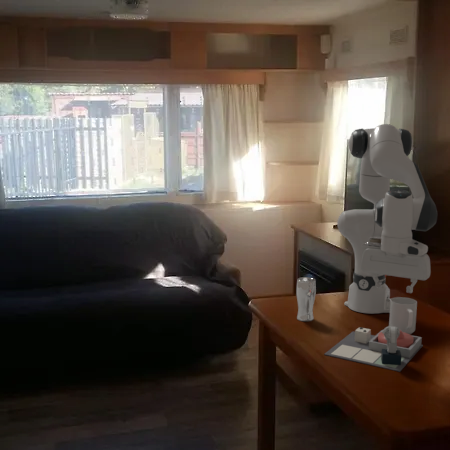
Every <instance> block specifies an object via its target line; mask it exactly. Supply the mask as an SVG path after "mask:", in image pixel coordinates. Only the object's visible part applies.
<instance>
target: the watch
mask: <svg viewBox="0 0 450 450" xmlns="http://www.w3.org/2000/svg"><path fill="white" fill-rule="evenodd" d="M382 330H383V331H382V334H384V336H385V339H386V340H387V349H382V350H381V361H382V364H391V365H401V352H400V350H397V338H398V337H399V335H400V330H399V329H398V327H395V326H389V325H388V326H386V327H384V329H382Z"/></svg>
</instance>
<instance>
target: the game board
mask: <svg viewBox="0 0 450 450" xmlns="http://www.w3.org/2000/svg"><path fill="white" fill-rule="evenodd" d="M371 330H372V329H370V328H365V327H362V326H361V327H360V326H359V327H358V328H356V329H355V330H354V331H353V330H352V331H351V332H350V333H349V334H347V335H346V336H345V337H344V338H342V339H341V340H340V341H338V342H337V343H336V344H335V345H334V346H332V347H331V348H330V349H329V350H328V351H326V352H325V353H324V356H327V357H332V358H337V359H341V360H345V361H349V362H354V363H355V362H356V363H359V364H364V365H367V366H373V367H375V368H376V367H377V368H381V369H385V370H391V371H394V372H395V371H396V372H399V373H400V372H401V371H402V370H403V369H404V368H405V367H406V366H407V365H408V363H409V362H410V361H411V360H412V359H414V357H415V355H416V354H417V353H418V352H419V351H420V350H421V348H422V347H423V346H424V345H423V344H422V340H423V339H422V338H423V337H421V336H417V335H412V334H410V335H411V336H413V338H414V339H413V344H412V345H411V346H410V347H409V348H403V347H398V346H397V350H400V352H401V365H391V364H382V361H381V350H382V349H387V344H384V343H379V342H378V334H379V333H380V332H382V331H383V330H384V329H382V330H380V331H379V332H378V333H376V334H375V335H374V334H372V331H371Z"/></svg>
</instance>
